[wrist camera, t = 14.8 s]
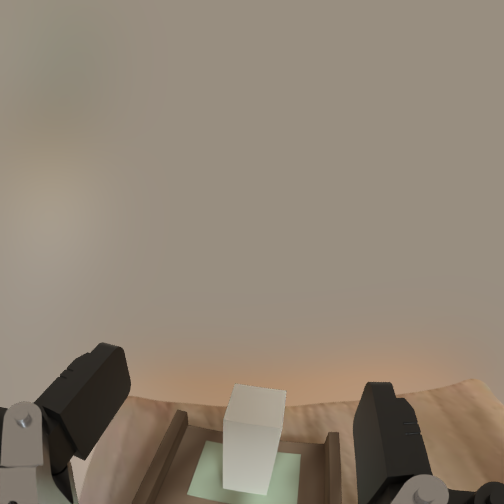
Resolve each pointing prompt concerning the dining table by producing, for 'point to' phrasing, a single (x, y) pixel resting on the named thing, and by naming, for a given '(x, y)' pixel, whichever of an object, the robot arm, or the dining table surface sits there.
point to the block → (251, 437)
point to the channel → (211, 471)
